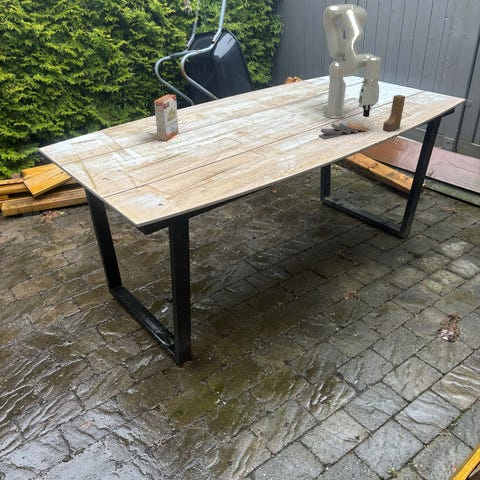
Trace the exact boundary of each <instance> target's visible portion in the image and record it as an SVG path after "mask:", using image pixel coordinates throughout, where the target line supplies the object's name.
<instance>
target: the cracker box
mask: <svg viewBox="0 0 480 480" xmlns="http://www.w3.org/2000/svg"><path fill="white" fill-rule="evenodd" d="M153 103H154V104H153V105H154V115H155V123H156V133H157V140H158V141H162V142H164V141H165V142H168V141H169V140H171V139H172V138H173V137H175V136H177V135H178V134H179V120H178V119H179V118H178V106H177V105H178V104H177V95H176V94H165V95H163V96H161V97H159V98H158V99H156V100H154V101H153Z"/></svg>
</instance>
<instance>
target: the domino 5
mask: <svg viewBox="0 0 480 480" xmlns="http://www.w3.org/2000/svg"><path fill="white" fill-rule="evenodd" d="M347 126H349V127H351V128H353V129H357V130H359V131H363V132H364V131H365V132H367V131H368V127H366V126H364V125H361V124H357V123H352V122H348V124H347Z"/></svg>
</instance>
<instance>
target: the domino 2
mask: <svg viewBox="0 0 480 480" xmlns="http://www.w3.org/2000/svg"><path fill="white" fill-rule="evenodd" d="M340 136H341V134H323V133H322V134H319V135H318V138H321V139H322V140H328V139H335V138H338V137H340Z"/></svg>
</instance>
